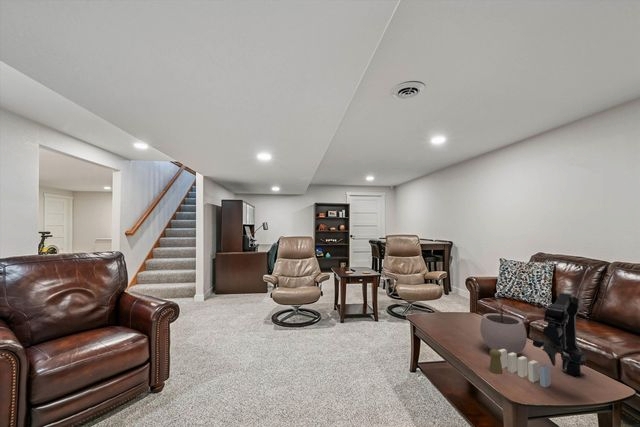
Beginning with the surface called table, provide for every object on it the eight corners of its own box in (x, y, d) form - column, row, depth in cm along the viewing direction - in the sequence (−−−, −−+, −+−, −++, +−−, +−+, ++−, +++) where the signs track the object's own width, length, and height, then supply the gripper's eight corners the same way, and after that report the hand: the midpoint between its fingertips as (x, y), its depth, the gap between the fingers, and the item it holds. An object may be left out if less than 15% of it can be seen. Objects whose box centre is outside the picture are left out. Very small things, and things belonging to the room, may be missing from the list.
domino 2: (513, 369, 150) (512, 352, 150) (517, 370, 148) (516, 353, 148) (507, 371, 147) (507, 354, 148) (511, 373, 146) (511, 355, 146)
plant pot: (481, 341, 186) (479, 296, 187) (524, 349, 173) (523, 301, 175) (480, 355, 165) (479, 305, 166) (530, 366, 153) (528, 311, 154)
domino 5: (545, 383, 136) (544, 364, 137) (550, 385, 134) (549, 366, 135) (540, 385, 134) (539, 366, 134) (544, 387, 132) (544, 368, 133)
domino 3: (523, 373, 145) (522, 356, 146) (527, 375, 143) (526, 357, 144) (517, 375, 143) (517, 358, 143) (522, 377, 141) (521, 359, 142)
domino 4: (534, 378, 141) (533, 360, 141) (538, 380, 139) (537, 361, 139) (528, 380, 139) (528, 362, 139) (533, 382, 137) (532, 364, 137)
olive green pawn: (497, 368, 151) (496, 347, 151) (505, 373, 145) (504, 352, 145) (486, 368, 151) (486, 347, 151) (494, 374, 145) (493, 352, 145)
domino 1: (503, 364, 154) (503, 348, 155) (507, 366, 152) (506, 350, 153) (498, 367, 152) (497, 350, 152) (502, 368, 150) (501, 351, 151)
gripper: (525, 330, 135) (527, 362, 135) (573, 344, 118) (575, 381, 118) (538, 326, 140) (539, 357, 139) (586, 340, 123) (587, 375, 122)
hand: (558, 367), depth 130 cm, fingers open, 3 cm apart
